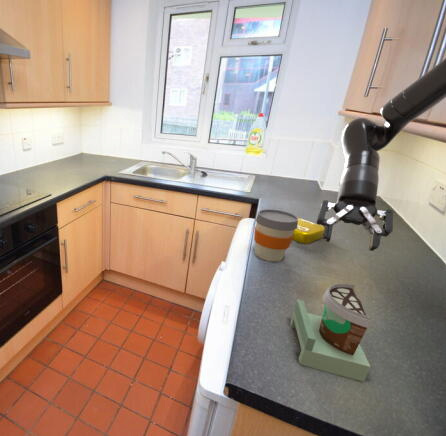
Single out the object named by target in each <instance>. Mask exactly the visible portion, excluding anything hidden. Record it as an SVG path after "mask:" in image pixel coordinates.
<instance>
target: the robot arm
mask: <svg viewBox="0 0 446 436" xmlns="http://www.w3.org/2000/svg"><path fill="white" fill-rule="evenodd" d="M445 99H446V57H445V58H444V59H443V60H441V61H440V62H439V63H437V64H436V65H434V67H432V68H431V69H430V70H428V71H427V72H426V73H424V74H423V75H422V76H420V77H419V78H418V79H416V80H415V81H414V82H412V83H410V84H409V85H408V86H407V87H405V88H404V89H403V90H401V91H400V92H399V93H398V94H396V95H395V96H394V97H392V98H391V99H389V100H388V101H387V102H386V103H385V104H384V105H383V106H381V109H380V115H381V117H382V118H383V119H384V120H385V122H384V124H383V123H382V124H378V123H377V122H375V121H372V120H371V119H369V118H366V117H358V118H355V119H352V120H351V121H349V122H348V123H347V124H346V126H345V127H344V129H343V131H342V132H341V146H342V149H343V150H342V151H343V155H344V160H345V161H344V165H343V171H342V174H341V177H340V182H339V184H338V186H339V187H338V194H337V200H336V203H332V202H329V200H328V199H324V200H323V201H322V203H321V205H320V209H319V212H318V215H317V219H316V224H319V225H322V226H324V233H323V238H322V239H323V240H324V241H325V242H327V243H329V242H330V241H331V238H332V234H333V227H334V225H337V224H338V223H340V222H343V223H344V224H352V225H355V226H361V225H362V226H363V228H364V229H365V230H366V231H368V233H369V234H370V236H369V243H368V244H369V245H368V251H371V252H374V251H375V250H377V249H378V248H379V247H380V245H381V237H385V238H386V237H388V236H389V235H390V234H391V233H393V231H394V230H393V229H394V228H393V226H394V225H393V224H394V220H393V219H394V212H393V210H392V209H390V208H389V209H386V210H380V209H377V207H376V204H377V197H378V189H379V180H380V179H379V169H380V163H381V162H380V161H381V158H380V157H381V156H380V154H379V151H381V150H383V149H385V148H386V147H387V146H388V145H389V144H390V143H391V142H392V141H393V140H394V139H395V138H396V137H397V136H398V135H399V134H400V132H402V130H404V129H405V127H407V125H409V124H410V123H411V122H413V121H414V120H416V119H417V118H419V117H420V116H422V115H424V114H425V113H427V112H428V111H429V110H431V109H432V108H434V107H435V106H436V105H438V104H439V103H441V102H442V101H443V100H445ZM332 209H333V211H334V212H335V214H334V215H333V216H332V217H330V218H329V219H328V218H327V219H326V218H325V217H326V214H327V212H330V211H331V210H332ZM375 216H377V217H378V219H379V220H380V221H381V227H380V226H379V224H378V223H377V220H376V219H375V218H374V217H375Z"/></svg>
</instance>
